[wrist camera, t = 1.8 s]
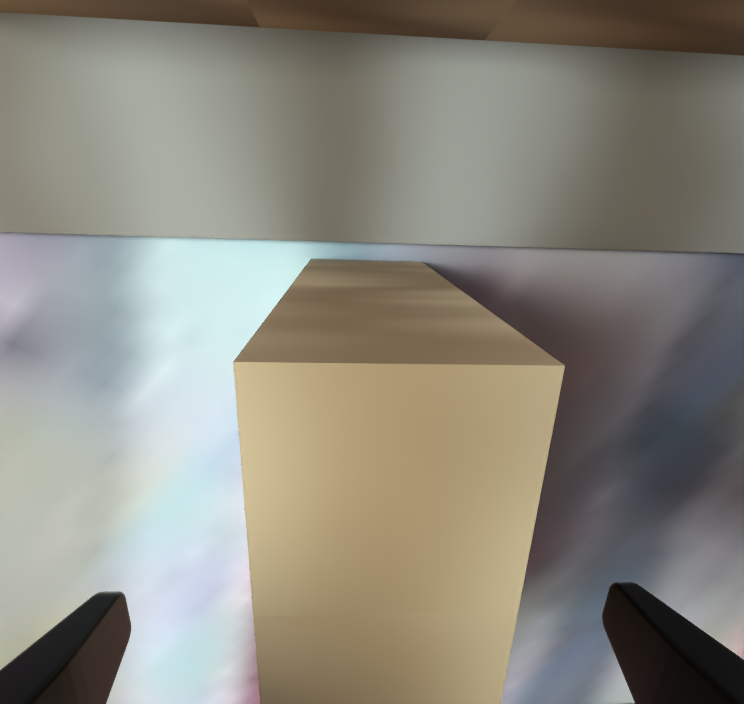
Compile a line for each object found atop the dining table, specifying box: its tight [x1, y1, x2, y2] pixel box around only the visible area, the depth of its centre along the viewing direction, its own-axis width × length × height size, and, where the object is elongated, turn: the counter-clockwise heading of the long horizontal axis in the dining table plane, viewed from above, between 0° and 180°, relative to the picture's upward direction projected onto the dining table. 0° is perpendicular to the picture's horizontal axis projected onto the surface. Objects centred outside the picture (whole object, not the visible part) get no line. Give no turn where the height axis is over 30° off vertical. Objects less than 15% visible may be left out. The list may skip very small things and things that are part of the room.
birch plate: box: [233, 259, 565, 704], centre depth 9 cm, size 3×11×8 cm, turn 178°
